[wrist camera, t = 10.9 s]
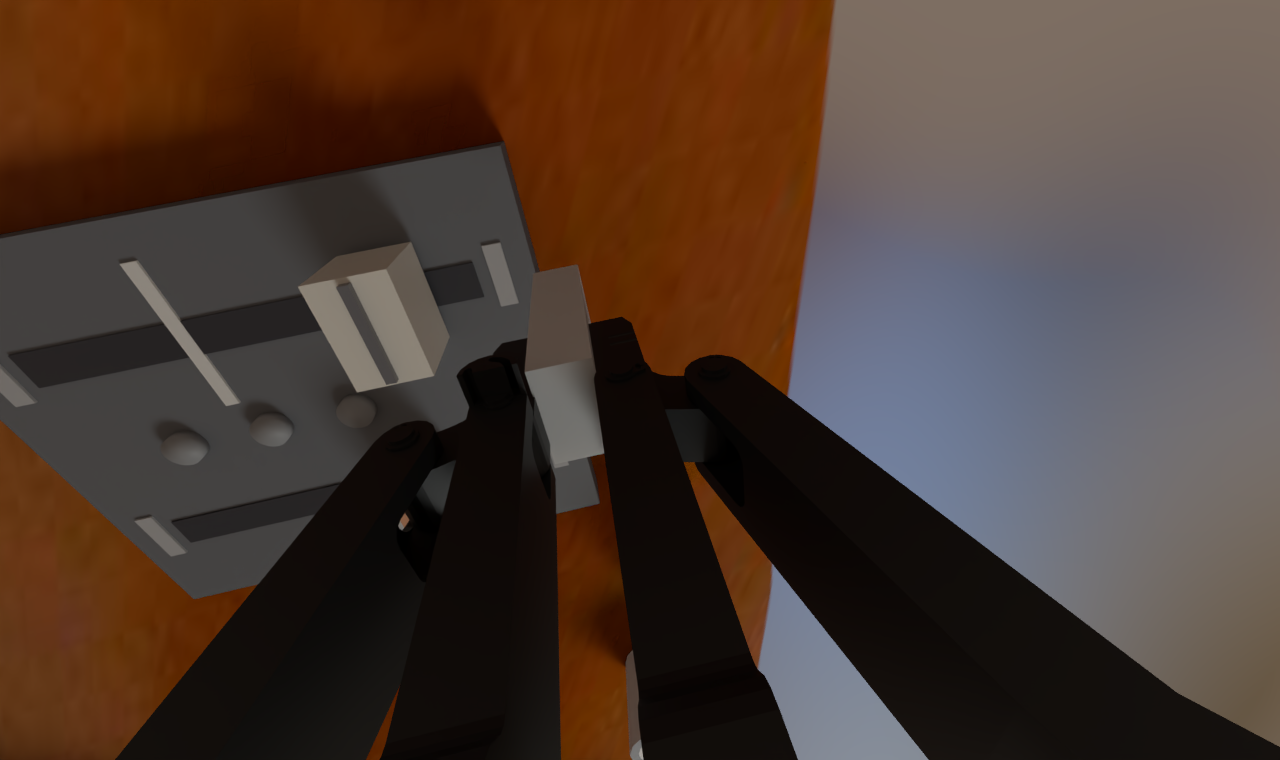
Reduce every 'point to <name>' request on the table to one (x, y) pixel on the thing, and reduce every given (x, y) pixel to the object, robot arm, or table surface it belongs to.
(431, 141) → the table surface
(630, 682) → the grey rimmed cylinder
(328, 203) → the console
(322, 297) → the cream fader
